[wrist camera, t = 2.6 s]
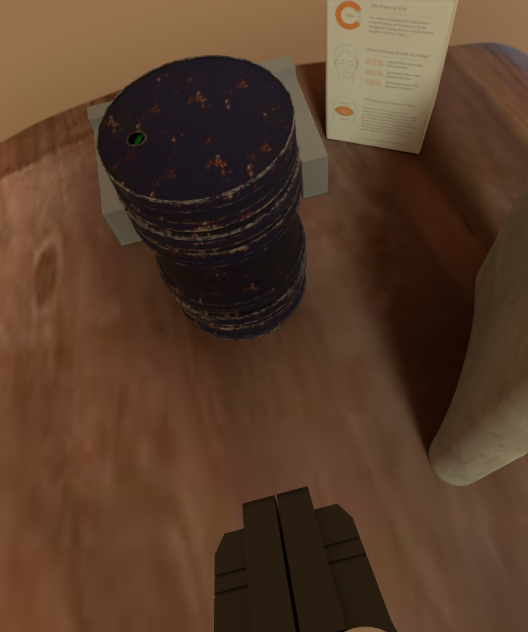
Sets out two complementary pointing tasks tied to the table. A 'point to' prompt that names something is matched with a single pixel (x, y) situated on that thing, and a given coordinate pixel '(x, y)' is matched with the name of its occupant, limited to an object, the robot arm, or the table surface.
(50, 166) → the table surface
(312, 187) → the grey u-shaped frame
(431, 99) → the small box
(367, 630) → the robot arm
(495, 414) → the hip flask
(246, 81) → the black ribbed barrel
